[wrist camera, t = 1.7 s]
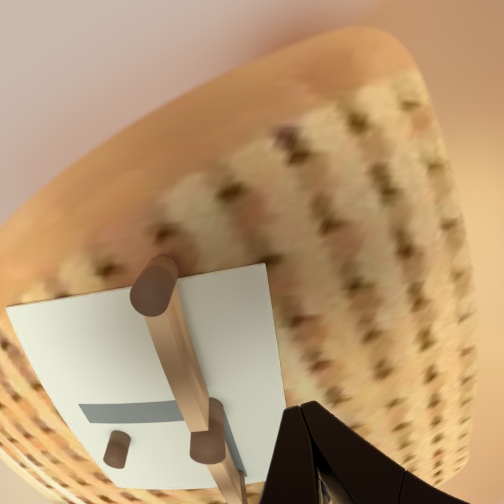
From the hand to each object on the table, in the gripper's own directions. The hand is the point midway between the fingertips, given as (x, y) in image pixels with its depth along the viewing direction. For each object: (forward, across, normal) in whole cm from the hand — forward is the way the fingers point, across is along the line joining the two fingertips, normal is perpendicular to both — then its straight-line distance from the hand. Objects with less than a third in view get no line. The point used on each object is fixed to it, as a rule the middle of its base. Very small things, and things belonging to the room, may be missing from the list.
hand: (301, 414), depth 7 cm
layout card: (+10, +9, +8) cm, 15 cm away
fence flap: (+8, +5, +1) cm, 10 cm away
